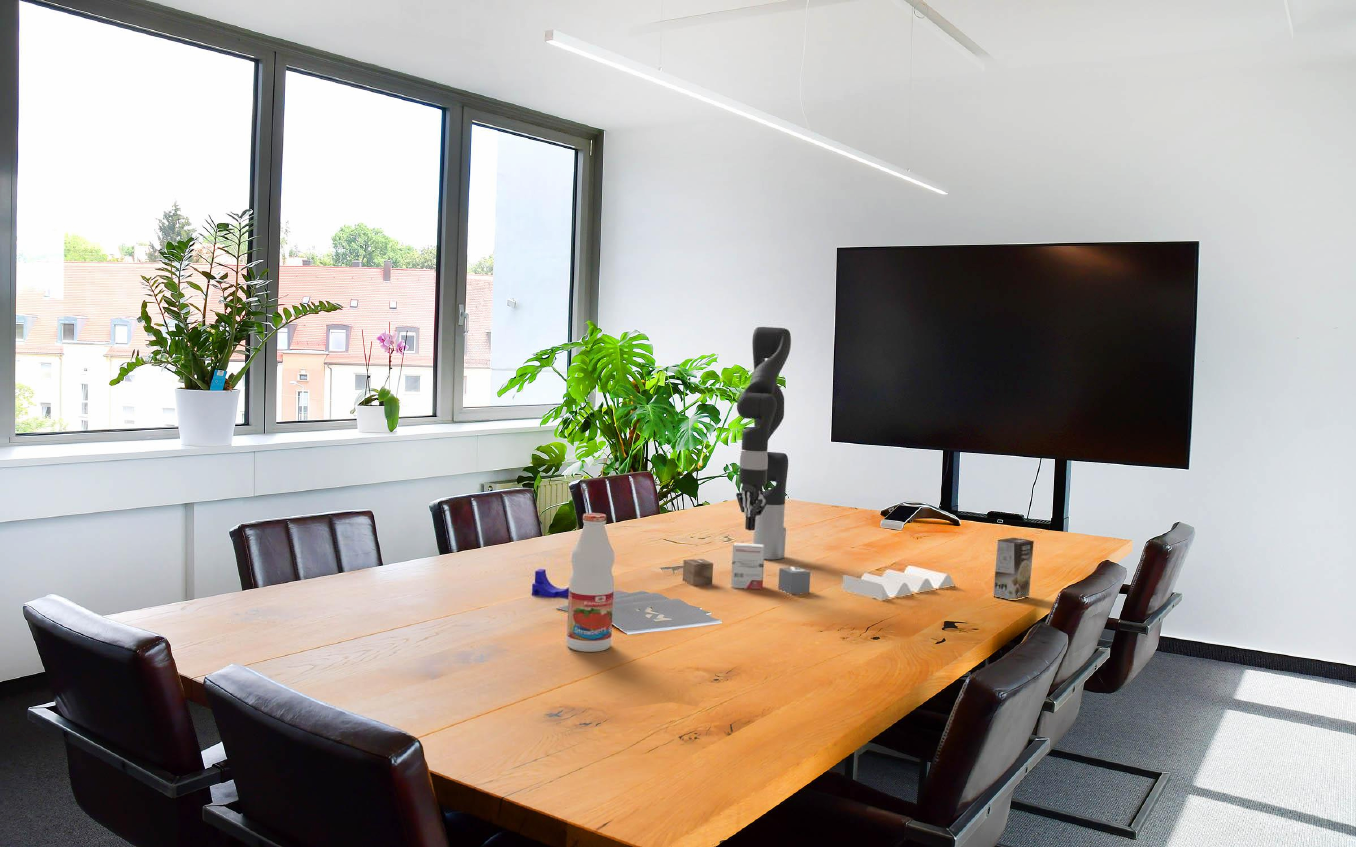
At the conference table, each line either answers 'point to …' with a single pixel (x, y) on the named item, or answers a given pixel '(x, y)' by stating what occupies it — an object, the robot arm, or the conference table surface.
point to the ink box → (747, 566)
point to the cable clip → (546, 586)
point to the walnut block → (698, 572)
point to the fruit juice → (591, 588)
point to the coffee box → (1013, 568)
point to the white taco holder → (896, 582)
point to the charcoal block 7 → (794, 580)
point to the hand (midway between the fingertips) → (749, 529)
